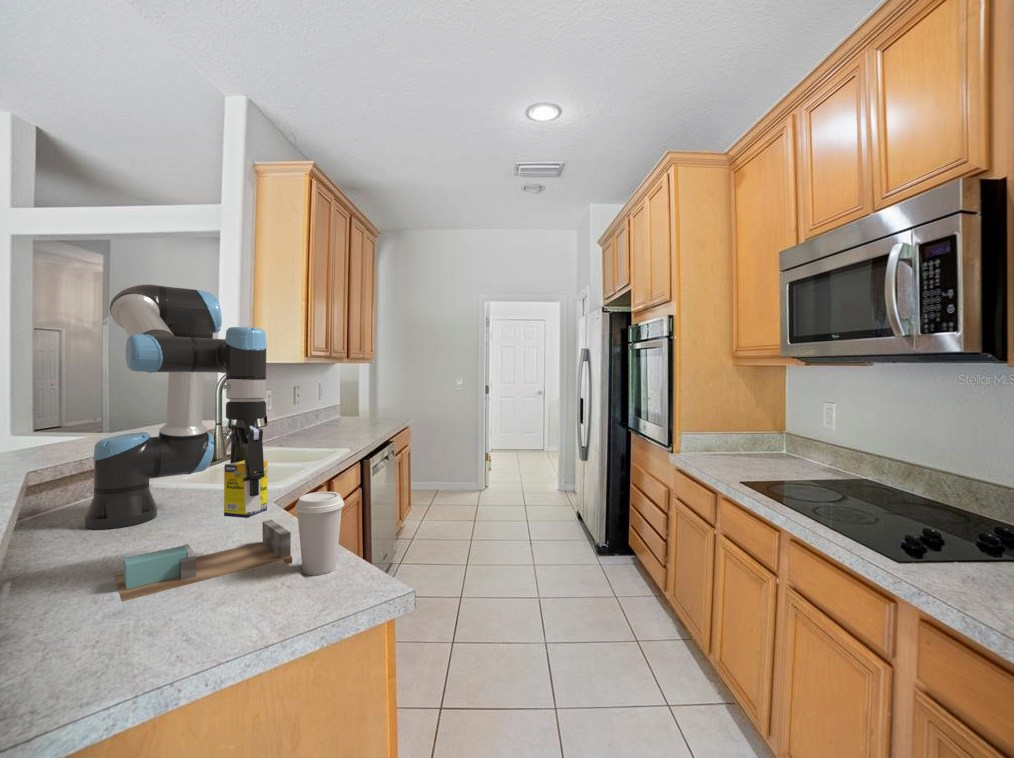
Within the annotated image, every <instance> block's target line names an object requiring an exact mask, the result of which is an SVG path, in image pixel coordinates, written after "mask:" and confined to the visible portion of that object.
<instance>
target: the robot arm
mask: <svg viewBox="0 0 1014 758" xmlns="http://www.w3.org/2000/svg"><path fill="white" fill-rule="evenodd" d="M109 313H110V316H111V317H112V320H113V321H114V322H115V323H116V324H117V325H118V326H119V327H120V328H121V329H124V331H125V333H126V334H127V336H128V337H127V338H126V343H125V362H126V367H127V368H128V369H129V370H131V371H132V372H146V373H149V374H152V373H168V376H167V378H168V379H167V398H166V399H167V401H166V422H165V424H164V425H163V426H161V427H160V428H159V431H158V436H151V434H150V433H149V432H145V431H141V432H133V433H125V434H119V435H114V436H110V437H105V438H103V439H100V440H99V441H97V442H96V443H95V444H94V451H93V457H92V460H93V467H94V468H93V497H92V500H91V502H90V505H89V507H88V510H87V512H86V514H85V517H84V527H85V528H87V529H92V530H108V529H117V528H118V529H119V528H124V527H131V526H135V525H139V524H142V523H146V522H148V521H151V520H153V519H155V518H157V516H158V506H157V504H156V501H155V498H153V495H152V492H151V490H150V489H151V488H150V480H152V479H159V478H164V477H172V476H183V475H192V474H195V473H200V472H203V471H206V470H207V469H208V467H209V466H210V465H211V463H212V460H213V457H214V452H215V451H214V450H215V439H214V435H213V434H212V433H210V432H208V427H207V426H205V425H204V424H203V411H204V409H203V408H204V395H205V393H204V392H205V378H206V377H205V376H206V373H220V374H225V384H223V386H222V388H223V390H225V399H228V400H229V401H227V402H226V403H225V418H226V419H227V420H232V421H236V422H235V424H232V425H231V426H230V429H231V430H230V431H231V438H230V439H231V440H230V441H231V443H230V459H229V460H230V461H229V464H231V463H235V462H239V461H243V460H245V468H246V476H247V477H246V478H244V479H243V481H245V512H246V513H247V512H253V511H258V510H260V479H261V478H262V477H264V475H265V474H264V461H265V460H264V447H263V446H264V444H263V437H264V430H263V428H260V427H258V422H257V420H258V419H259V420H260V419H265V418H266V417H267V402H266V401H265V400H264V399H266V398H268V397H267V392H268V391H267V390H268V389H267V348H268V344H267V334H266V332H265V330H263V328H260V327H259V328H257V327H249V326H247V327H246V326H231V327H228V328H227V329H226V332H225V338H214V334H217V333H219V332H220V331H221V329H222V323H223V321H222V316H223V315H222V310H221V305H220V303H219V300H218V298H217V296H216V295H215V294H214V293H213V292H210V291H204V290H200V289H199V290H198V289H193V288H192V289H191V288H183V287H172V286H164V285H157V284H138V285H133V286H131V287H128V288H125V289H123V290H120V291H119V292H118V293H116V295H115V296H114V297H113V298H112V300H110V304H109ZM254 472H255V473H254Z"/></svg>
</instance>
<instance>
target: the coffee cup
mask: <svg viewBox="0 0 1014 758" xmlns="http://www.w3.org/2000/svg"><path fill="white" fill-rule="evenodd" d="M344 506H345V501H344V499H343V498H342V496H341V494H340V493H339V492H335V491H317V492H316V491H315V492H310V493H306V494H305V493H304V494H303V495H301V496H299V497H298V500H297V502H296V503H295V506H294V511H295V512H296V513H297V522H298V523H297V524H298V532H299V534H298V535H299V544H300V554H301V566H302V568H301V569H302V573H303V574H305V575H307V576H319V575H320V574H321V575H325V573H326V574H328V572H329V573H331V572H333V571H335V570H336V568H337V564H338V563H337V562H338V553H339V541H340V540H339V539H340V531H341V518H342V509H343V507H344ZM332 570H333V571H332Z"/></svg>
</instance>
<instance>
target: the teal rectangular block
mask: <svg viewBox="0 0 1014 758" xmlns="http://www.w3.org/2000/svg"><path fill="white" fill-rule="evenodd" d="M193 556H194V550H193V548H192V547H191V546H190V545H189V544H188V543H187V544H183V545H180V546H175V547H170V548H166V549H161V550H157V551H152V552H147V553H142V554H138V555H137V554H136V555H132V556H128V557H123V574H124V583H125V586H126V589H131V588H135V587H139V586H143V585H147V584H151V583H155V582H159V581H163V580H167V579H171V578H175V577H179V559H184V558H188V557H193Z"/></svg>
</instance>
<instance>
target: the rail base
mask: <svg viewBox="0 0 1014 758" xmlns="http://www.w3.org/2000/svg"><path fill="white" fill-rule="evenodd" d="M291 534H292V533H291V532H290V531H289V530H288V529H286V528H285V527H284V526H282V525H280V523H277V522H276V521H275V520H273V519H269V520H265V521H262V541H261V542H256V543H252V544H247V545H243V546H238V547H235V548H229V549H226V550H221V551H217V552H212V553H208V554H204V555H199V556H195V555H193V557H188V558H184V559H179V577H175V578H171V579H167V580H163V581H159V582H155V583H151V584H147V585H143V586H139V587H135V588H131V589H126V586H125V583H124V573H120V574H116V575H114V579H115V582H116V585H117V589H118V592H119V595H120V600H121V602H126V601H130V600H134V599H138V598H142V597H146V596H150V595H153V594H157V593H161V592H165V591H168V590H172V589H177V588H180V587H185V586H187V585H191V584H195V583H199V582H203V581H206V580H210V579H215V578H217V577H218V578H219V577H222V576H226V575H230V574H233V573H237V572H240V571H245V570H249V569H253V568H257V567H260V566H264V565H268V564H272V563H275V562H279V561H283V562H285V564H287V565H288V564H292V563H293V556H291V547H292V545H291V543H292V541H291V539H292V538H291V537H292V535H291Z"/></svg>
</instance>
